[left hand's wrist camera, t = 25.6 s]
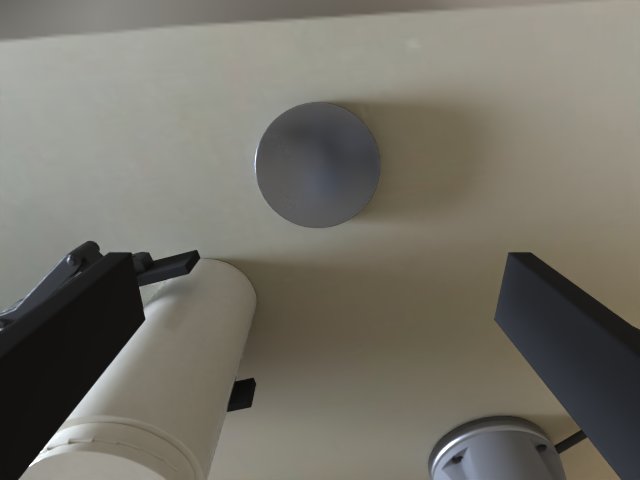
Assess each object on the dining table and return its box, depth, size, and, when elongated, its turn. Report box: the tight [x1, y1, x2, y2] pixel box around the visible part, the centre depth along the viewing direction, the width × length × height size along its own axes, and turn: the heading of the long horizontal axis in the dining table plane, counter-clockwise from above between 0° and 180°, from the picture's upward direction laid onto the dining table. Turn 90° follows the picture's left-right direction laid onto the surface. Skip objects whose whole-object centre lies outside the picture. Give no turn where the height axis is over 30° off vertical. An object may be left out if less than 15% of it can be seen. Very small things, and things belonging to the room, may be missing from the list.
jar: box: [19, 259, 257, 480], centre depth 27 cm, size 9×9×19 cm
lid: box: [255, 102, 380, 228], centre depth 30 cm, size 10×10×2 cm
